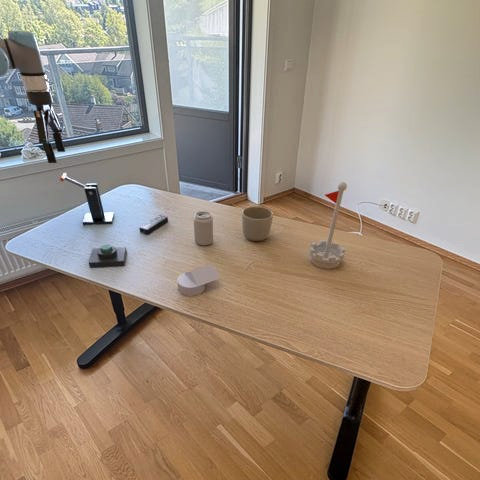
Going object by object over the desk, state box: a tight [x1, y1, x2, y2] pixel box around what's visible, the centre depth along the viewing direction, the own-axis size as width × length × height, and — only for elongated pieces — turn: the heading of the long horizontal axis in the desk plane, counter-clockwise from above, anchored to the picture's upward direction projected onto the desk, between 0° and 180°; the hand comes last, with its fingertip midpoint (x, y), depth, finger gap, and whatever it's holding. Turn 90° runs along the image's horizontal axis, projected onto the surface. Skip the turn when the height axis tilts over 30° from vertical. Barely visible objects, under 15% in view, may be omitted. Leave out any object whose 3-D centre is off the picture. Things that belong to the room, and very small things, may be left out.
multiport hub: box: [138, 214, 169, 236], centre depth 148 cm, size 4×14×2 cm, turn 153°
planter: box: [241, 205, 274, 242], centre depth 141 cm, size 12×12×11 cm
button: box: [100, 244, 112, 253], centre depth 125 cm, size 4×4×2 cm
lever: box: [59, 172, 97, 189], centre depth 141 cm, size 13×6×2 cm
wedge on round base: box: [176, 263, 221, 297], centre depth 115 cm, size 9×7×13 cm
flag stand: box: [308, 181, 348, 270], centre depth 123 cm, size 13×13×30 cm
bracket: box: [82, 183, 115, 226], centre depth 147 cm, size 12×9×15 cm
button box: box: [88, 245, 128, 269], centre depth 126 cm, size 12×10×4 cm
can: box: [192, 210, 214, 247], centre depth 136 cm, size 8×8×12 cm
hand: (57, 157), depth 131 cm, fingers open, 13 cm apart
